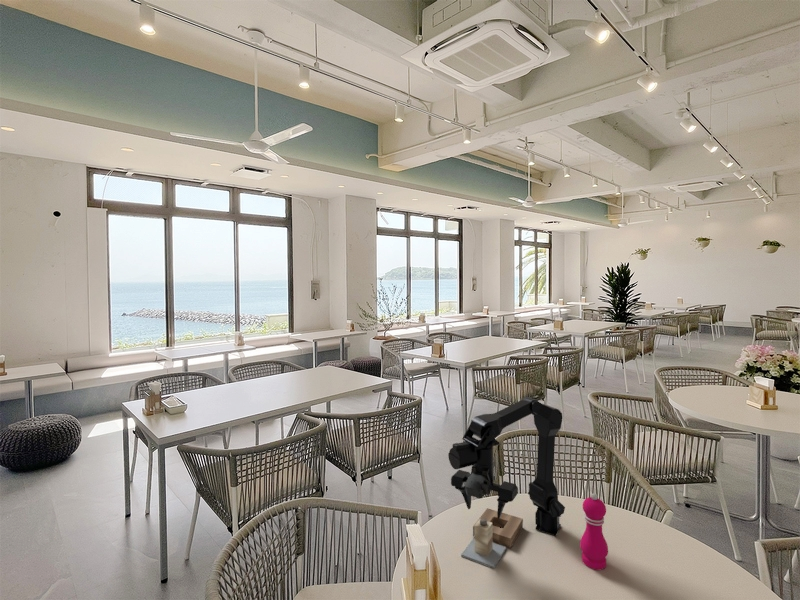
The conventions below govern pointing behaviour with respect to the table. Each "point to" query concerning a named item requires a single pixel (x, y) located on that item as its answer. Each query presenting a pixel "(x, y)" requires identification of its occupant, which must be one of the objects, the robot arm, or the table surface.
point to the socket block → (503, 527)
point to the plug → (483, 537)
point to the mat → (482, 559)
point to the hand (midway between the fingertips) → (483, 513)
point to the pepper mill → (594, 534)
